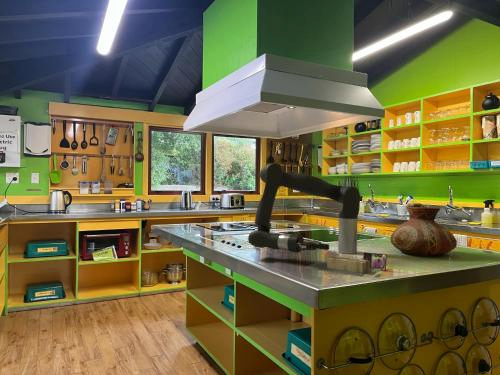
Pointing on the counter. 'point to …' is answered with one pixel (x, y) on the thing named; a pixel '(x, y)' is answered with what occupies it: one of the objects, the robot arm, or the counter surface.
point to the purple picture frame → (376, 260)
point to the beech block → (348, 264)
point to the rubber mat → (323, 267)
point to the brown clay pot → (423, 233)
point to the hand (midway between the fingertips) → (328, 247)
